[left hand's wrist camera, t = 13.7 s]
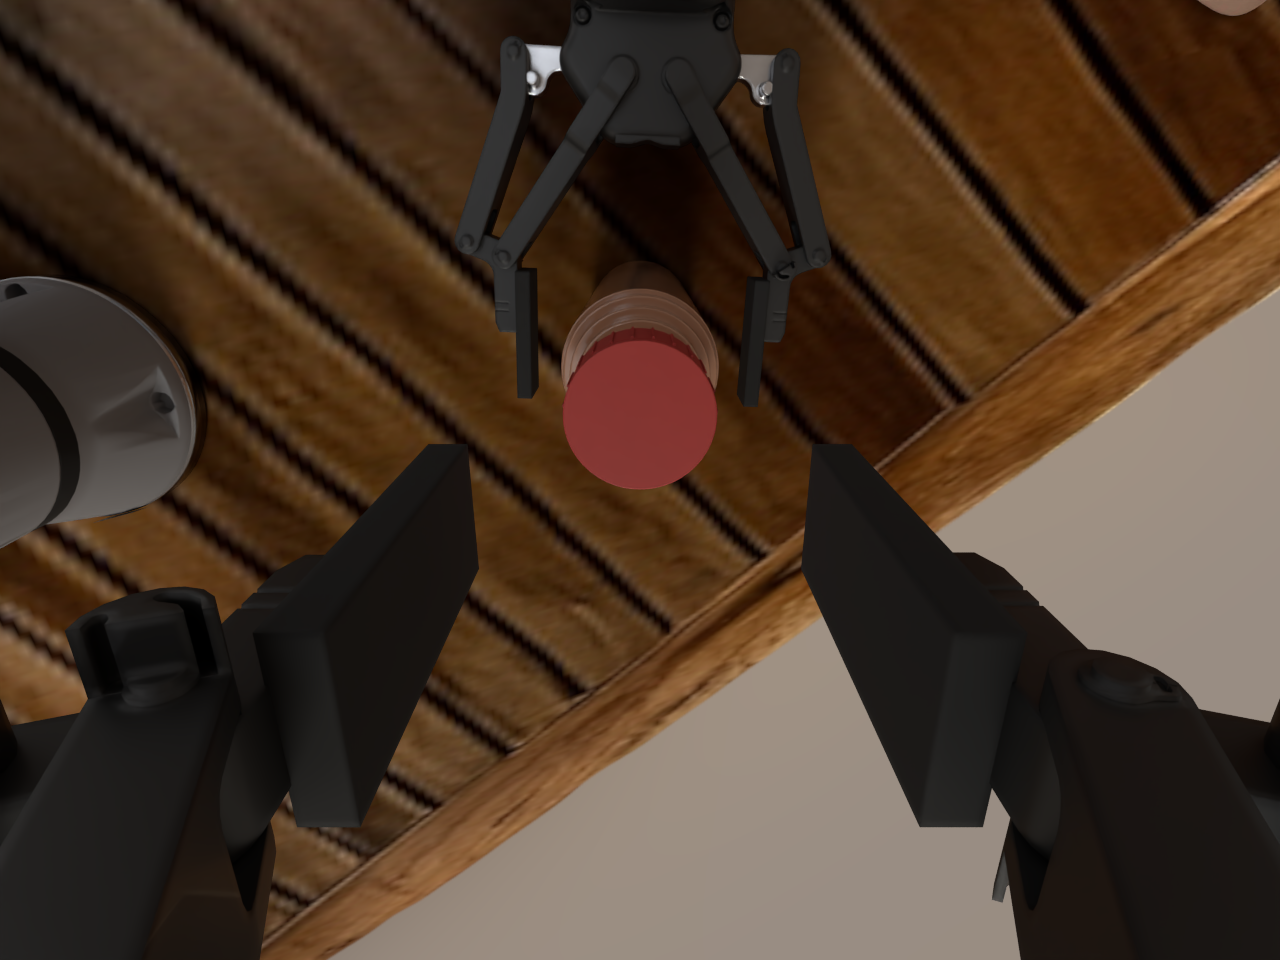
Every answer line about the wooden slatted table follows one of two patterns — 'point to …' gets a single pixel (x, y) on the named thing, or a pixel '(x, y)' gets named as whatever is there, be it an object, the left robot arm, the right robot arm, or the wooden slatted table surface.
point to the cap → (640, 409)
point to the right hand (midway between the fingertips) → (637, 396)
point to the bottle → (640, 314)
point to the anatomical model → (1232, 6)
